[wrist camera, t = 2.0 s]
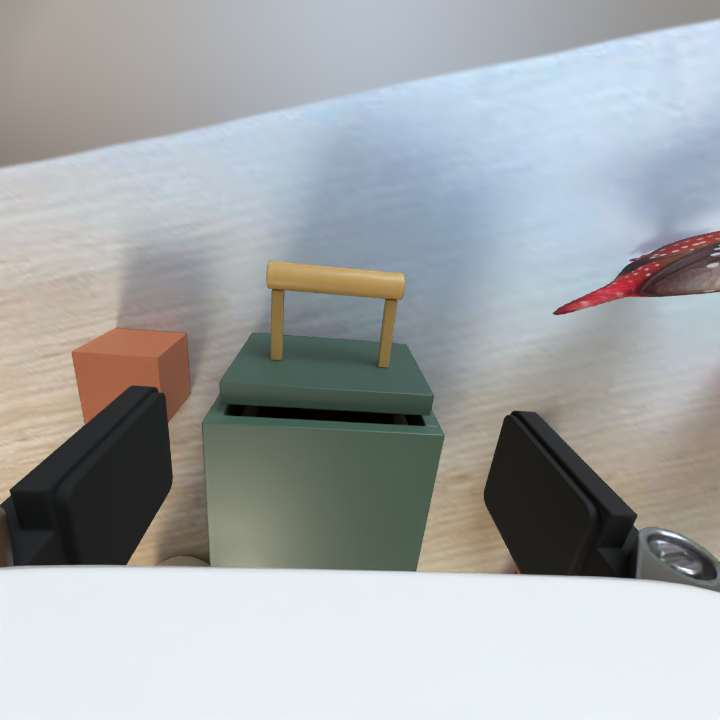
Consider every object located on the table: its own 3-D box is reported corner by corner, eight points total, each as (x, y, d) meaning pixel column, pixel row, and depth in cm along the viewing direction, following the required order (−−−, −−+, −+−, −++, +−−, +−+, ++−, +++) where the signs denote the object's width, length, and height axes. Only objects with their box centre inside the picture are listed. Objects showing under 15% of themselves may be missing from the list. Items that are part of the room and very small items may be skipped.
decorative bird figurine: (760, 246, 26) (994, 266, 17) (507, 311, 27) (599, 365, 17) (766, 202, 25) (1020, 197, 16) (502, 270, 26) (598, 304, 16)
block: (123, 390, 27) (84, 423, 23) (115, 327, 25) (71, 351, 21) (190, 394, 27) (164, 427, 23) (186, 333, 26) (157, 357, 22)
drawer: (251, 249, 23) (214, 267, 16) (418, 265, 24) (454, 288, 17) (252, 495, 30) (226, 587, 23) (382, 500, 31) (397, 589, 24)
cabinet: (245, 351, 27) (201, 422, 18) (409, 362, 28) (445, 435, 19) (247, 515, 32) (213, 634, 23) (384, 519, 33) (403, 634, 24)
